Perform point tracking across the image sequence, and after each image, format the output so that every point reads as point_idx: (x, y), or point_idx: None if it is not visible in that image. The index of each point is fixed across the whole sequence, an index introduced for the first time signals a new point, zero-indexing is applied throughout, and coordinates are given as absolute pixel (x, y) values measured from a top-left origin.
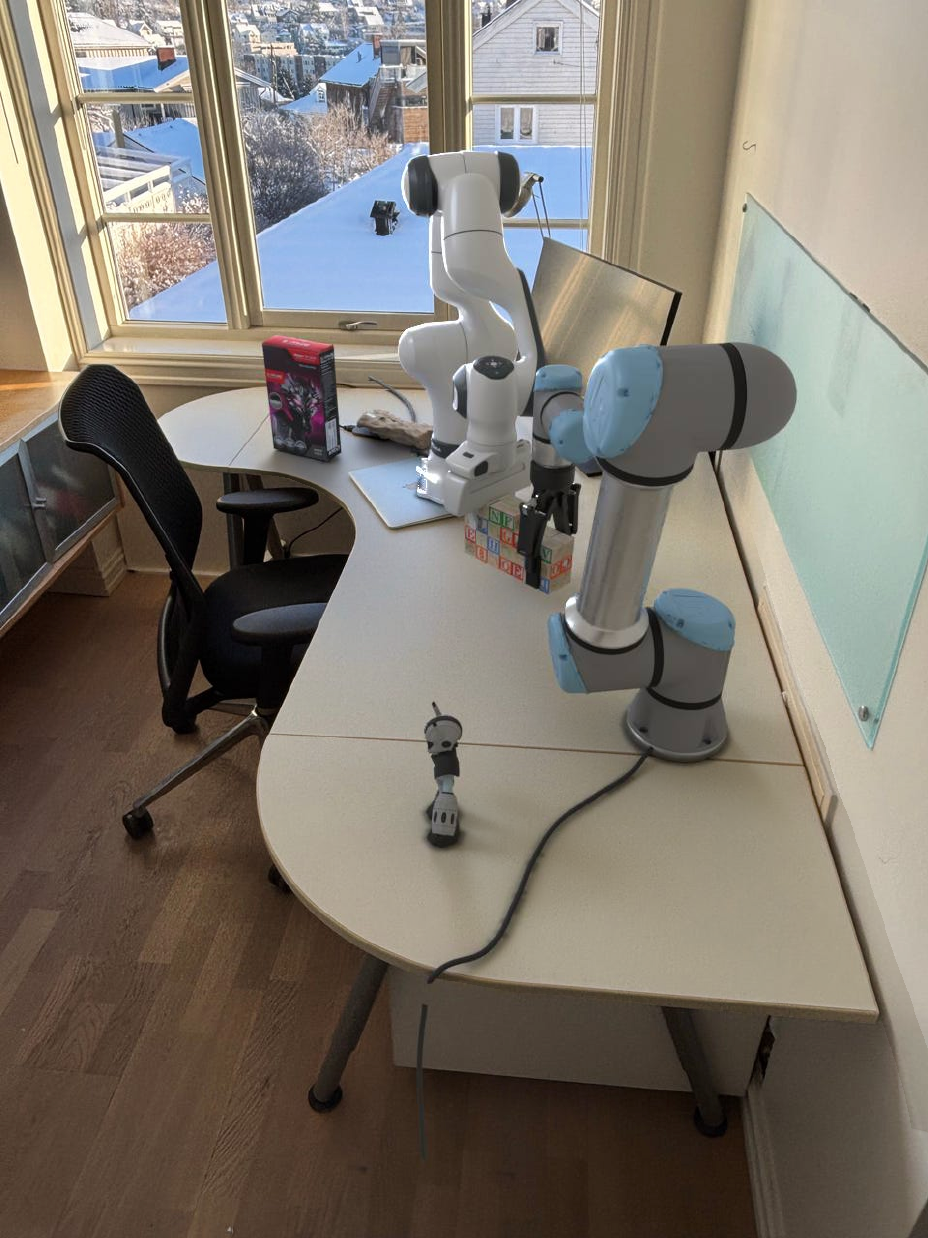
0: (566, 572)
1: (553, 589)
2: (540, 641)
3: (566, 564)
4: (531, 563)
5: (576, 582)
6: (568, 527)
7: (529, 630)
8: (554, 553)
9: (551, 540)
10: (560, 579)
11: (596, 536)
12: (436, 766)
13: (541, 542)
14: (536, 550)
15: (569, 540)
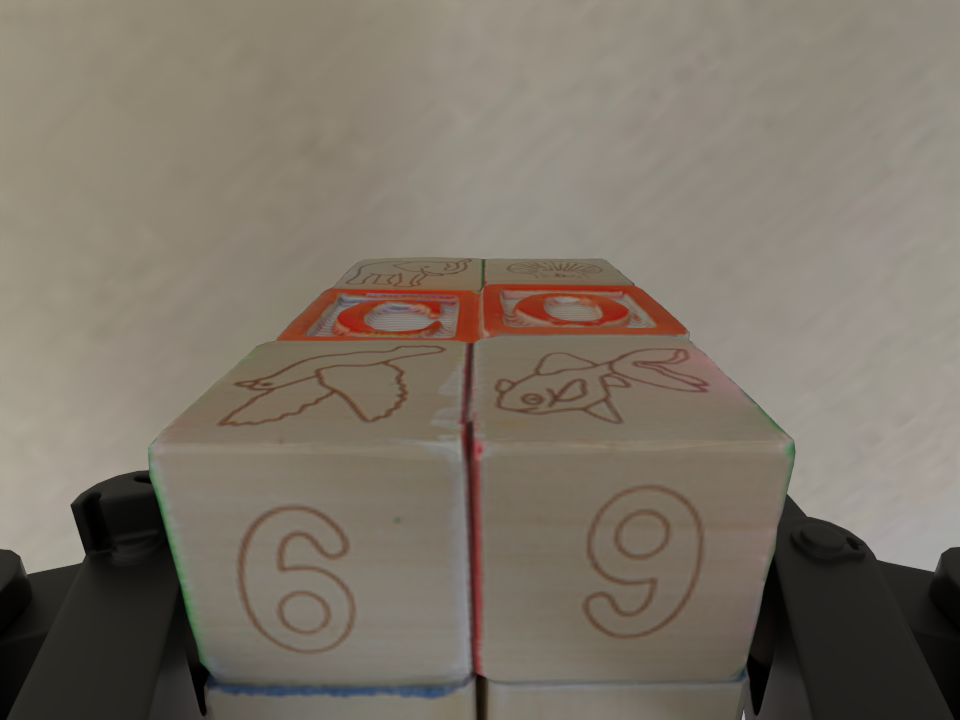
0: (397, 285)
1: (555, 262)
2: (682, 159)
3: (385, 314)
4: (788, 498)
5: (156, 379)
6: (42, 706)
7: (638, 263)
8: (689, 395)
9: (529, 627)
10: (476, 276)
11: None
12: None
13: (813, 682)
14: (865, 595)
15: (287, 448)
